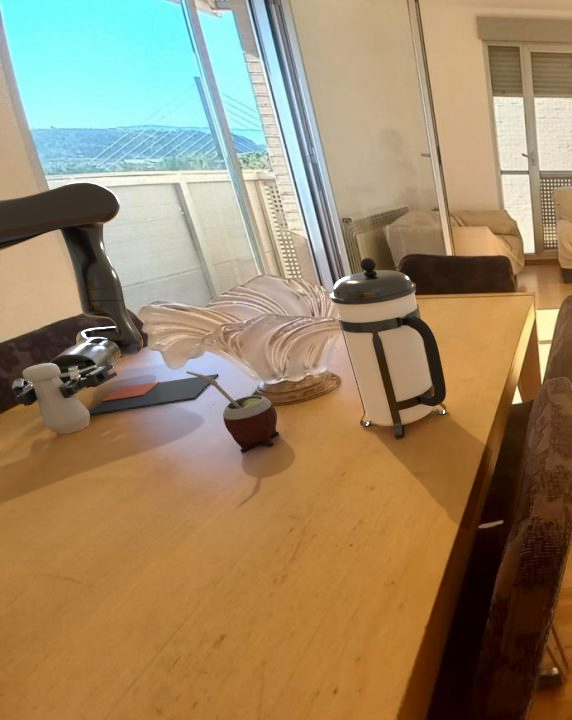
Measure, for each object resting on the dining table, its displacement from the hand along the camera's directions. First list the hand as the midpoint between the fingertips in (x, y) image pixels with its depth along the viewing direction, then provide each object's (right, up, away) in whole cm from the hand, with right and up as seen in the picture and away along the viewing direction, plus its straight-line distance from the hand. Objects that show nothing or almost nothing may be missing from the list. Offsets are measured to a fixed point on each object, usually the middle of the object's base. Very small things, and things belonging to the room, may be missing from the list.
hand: (45, 396), depth 84 cm
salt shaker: (-1, -7, +5) cm, 9 cm away
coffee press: (+63, -5, +4) cm, 63 cm away
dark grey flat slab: (+2, -1, +18) cm, 18 cm away
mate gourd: (+39, -8, -2) cm, 40 cm away
